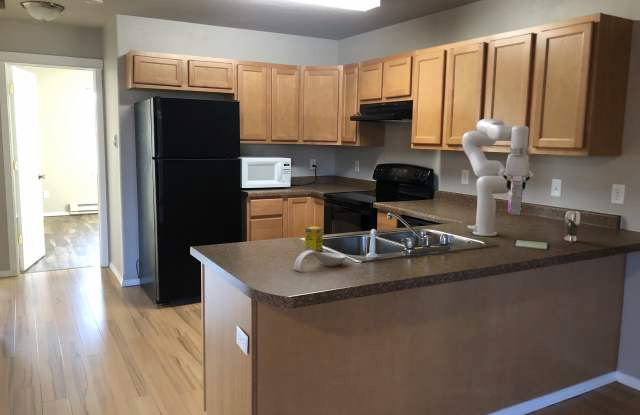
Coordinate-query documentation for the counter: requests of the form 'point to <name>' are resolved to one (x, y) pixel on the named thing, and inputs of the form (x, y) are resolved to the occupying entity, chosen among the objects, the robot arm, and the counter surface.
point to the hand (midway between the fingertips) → (515, 189)
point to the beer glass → (571, 225)
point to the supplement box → (314, 239)
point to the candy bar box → (515, 197)
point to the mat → (531, 244)
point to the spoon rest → (324, 258)
